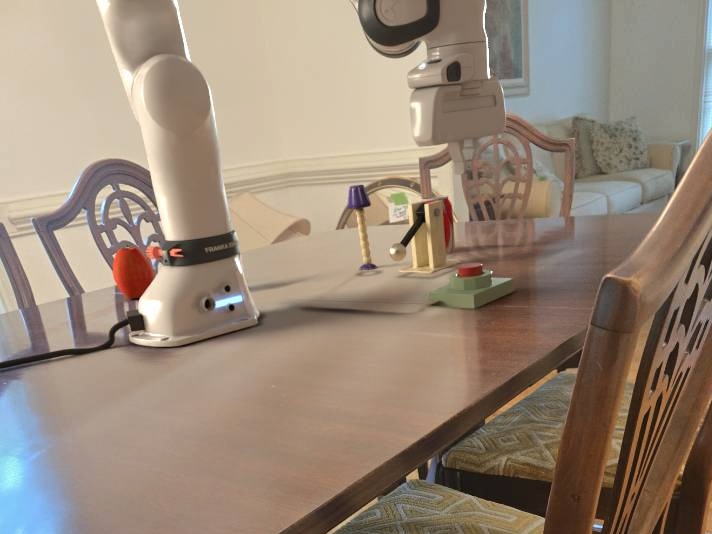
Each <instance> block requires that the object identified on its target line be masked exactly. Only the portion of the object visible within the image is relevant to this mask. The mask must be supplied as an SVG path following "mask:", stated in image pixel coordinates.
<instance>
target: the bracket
mask: <svg viewBox="0 0 712 534" xmlns="http://www.w3.org/2000/svg"><path fill="white" fill-rule="evenodd" d="M422 203H425V201H422V200H420V201H417V202H412V203H409V204H407V212H408V222H409V223H408V224H409V229H410V228H411V226H412V225H413V224H414V222H415V221H416V219H417V218H418V217H417V215H416V211H417V210H418V208H419V207H420V205H421V204H422ZM424 206H425V217H426V223H423V224H422V225H421V227H420V228H419V230H418V231H417V232H416V234H415V235H414V237H413V238H412V240H411V241H410V243H411V245H410V246H411V254H412V255H411V256H412V265H411V266H409V267H406V268H402V269H399V270H398V272H399V273H400V272H401V273H423V274H424V273H426V274H432V273H435V272H438V271H441V270H443V269H446V268H449V267H452V266H454V265H457V264H460V263H462V261H461V260H447V254H446V248H445V235H444V221H443V208H442V201H435V202H431V203H427V204H424Z"/></svg>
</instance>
